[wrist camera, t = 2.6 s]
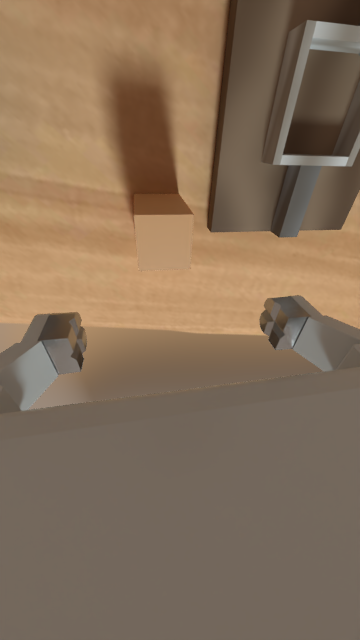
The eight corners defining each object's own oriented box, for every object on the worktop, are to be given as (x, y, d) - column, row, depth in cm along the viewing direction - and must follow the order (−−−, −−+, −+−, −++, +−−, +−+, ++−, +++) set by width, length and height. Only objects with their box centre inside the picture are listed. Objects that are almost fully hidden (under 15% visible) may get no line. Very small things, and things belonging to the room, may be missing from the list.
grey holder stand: (469, -91, 13) (552, -147, 11) (331, 225, 25) (355, 236, 22) (245, -140, 11) (278, -223, 9) (207, 227, 23) (216, 239, 20)
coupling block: (178, 193, 21) (193, 214, 15) (177, 237, 23) (190, 268, 18) (134, 193, 20) (133, 215, 15) (138, 238, 23) (138, 271, 17)
